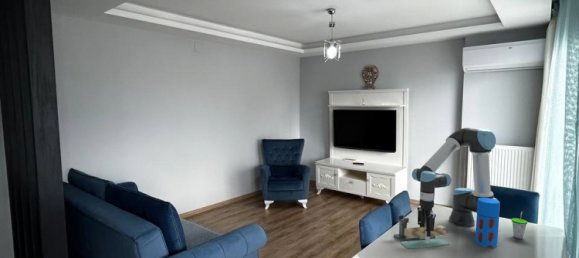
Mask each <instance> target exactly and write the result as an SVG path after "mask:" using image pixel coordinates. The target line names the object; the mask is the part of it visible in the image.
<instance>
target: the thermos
mask: <svg viewBox="0 0 579 258" xmlns="http://www.w3.org/2000/svg"><path fill="white" fill-rule="evenodd" d="M500 210H501V202H500V201H499V200H498V199H497V200H495V199H490V198H478V202H477V212H476V220H475V243H476V244H477V245H479V246H480V247H481V246H482V247H484V248H496V247H497V246H498V241H499V225H500V224H499V223H500Z"/></svg>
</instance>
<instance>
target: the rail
mask: <svg viewBox="0 0 579 258" xmlns="http://www.w3.org/2000/svg"><path fill="white" fill-rule="evenodd" d="M425 230H426V227H420V226H418V227H407V228H404V236H406V237H407V238H413V237H424V236H425ZM446 231H447V227H446V226H443V225H434V231H431V236H435V237H436V236H443V235H447V233H446Z"/></svg>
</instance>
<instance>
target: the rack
mask: <svg viewBox="0 0 579 258" xmlns="http://www.w3.org/2000/svg"><path fill="white" fill-rule="evenodd" d="M428 217H429V216H428ZM397 220H399V222H398V223H399V224H398V225H399V226H398V233H394V234H393V236H394V238H396V239H397V240H398V241H399V240H400V241H399V242H410V241H420V240H421V239H420V237H413V238H407V237H406V236H404V228H408V227H407V226H408V224H409V223H410V222H409V221H410V218H409V217H404V214H398V215H397ZM424 227H426V221H425V226H424ZM430 239H436V235H435V236H430Z"/></svg>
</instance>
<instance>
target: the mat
mask: <svg viewBox="0 0 579 258" xmlns="http://www.w3.org/2000/svg"><path fill="white" fill-rule="evenodd" d="M400 244H401V245H402V246H404V247H405V248H406V249H408V250H410V249H412V250H413V249H420V248H421V249H422V248H428V247H429V248H430V247H439V246H448V245H450V243H449V242H448V241H445V240H444V239H442V238H440V237H439V238H430V242H425V239H419V240H409V241H400Z"/></svg>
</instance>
